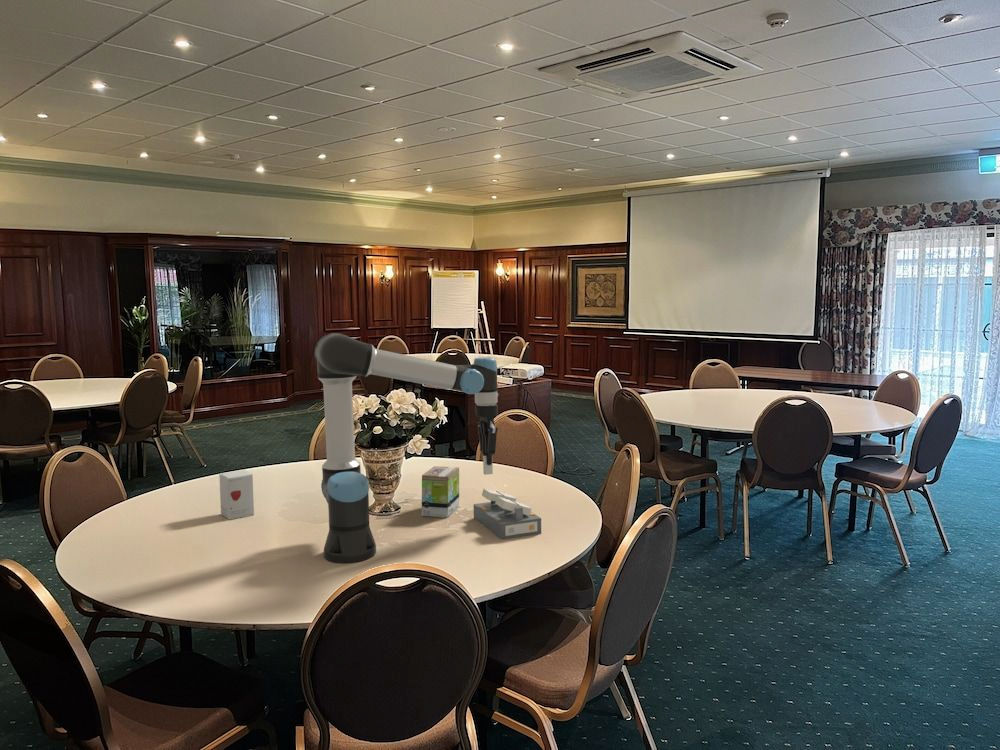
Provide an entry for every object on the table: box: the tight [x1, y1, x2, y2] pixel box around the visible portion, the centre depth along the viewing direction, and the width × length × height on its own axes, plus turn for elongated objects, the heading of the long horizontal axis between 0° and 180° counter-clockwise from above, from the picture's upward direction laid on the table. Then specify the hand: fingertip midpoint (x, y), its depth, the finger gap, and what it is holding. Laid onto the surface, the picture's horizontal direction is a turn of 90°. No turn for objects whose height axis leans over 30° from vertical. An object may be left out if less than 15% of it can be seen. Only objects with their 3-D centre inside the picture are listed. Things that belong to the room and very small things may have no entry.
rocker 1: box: [481, 488, 517, 502], centre depth 235 cm, size 10×6×2 cm, turn 113°
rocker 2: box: [495, 497, 533, 516], centre depth 224 cm, size 10×6×3 cm, turn 113°
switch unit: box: [473, 498, 542, 540], centre depth 230 cm, size 14×24×9 cm, turn 23°
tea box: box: [421, 465, 460, 518], centre depth 247 cm, size 15×10×15 cm, turn 168°
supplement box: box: [218, 469, 255, 520], centre depth 245 cm, size 9×9×15 cm
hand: (488, 473), depth 232 cm, fingers closed
